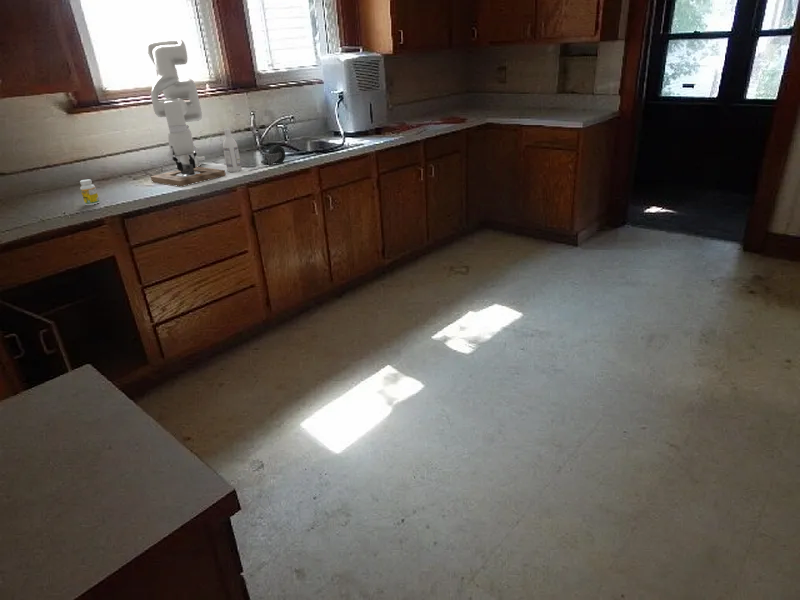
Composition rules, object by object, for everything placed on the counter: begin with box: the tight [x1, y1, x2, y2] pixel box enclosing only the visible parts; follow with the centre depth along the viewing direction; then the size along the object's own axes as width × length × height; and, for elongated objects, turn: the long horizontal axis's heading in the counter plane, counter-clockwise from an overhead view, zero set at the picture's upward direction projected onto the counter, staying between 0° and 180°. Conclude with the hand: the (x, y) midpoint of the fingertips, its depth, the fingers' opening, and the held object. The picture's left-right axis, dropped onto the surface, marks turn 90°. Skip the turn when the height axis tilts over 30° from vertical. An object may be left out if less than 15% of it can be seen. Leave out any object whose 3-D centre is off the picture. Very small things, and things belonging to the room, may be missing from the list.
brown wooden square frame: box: [150, 166, 227, 187], centre depth 250 cm, size 24×24×3 cm
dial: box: [176, 163, 200, 177], centre depth 249 cm, size 11×11×6 cm
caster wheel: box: [260, 144, 286, 166], centre depth 269 cm, size 6×10×15 cm
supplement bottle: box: [79, 179, 101, 206], centre depth 213 cm, size 5×5×10 cm
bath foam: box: [222, 128, 243, 173], centre depth 258 cm, size 7×7×20 cm
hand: (186, 168), depth 249 cm, fingers open, 5 cm apart
